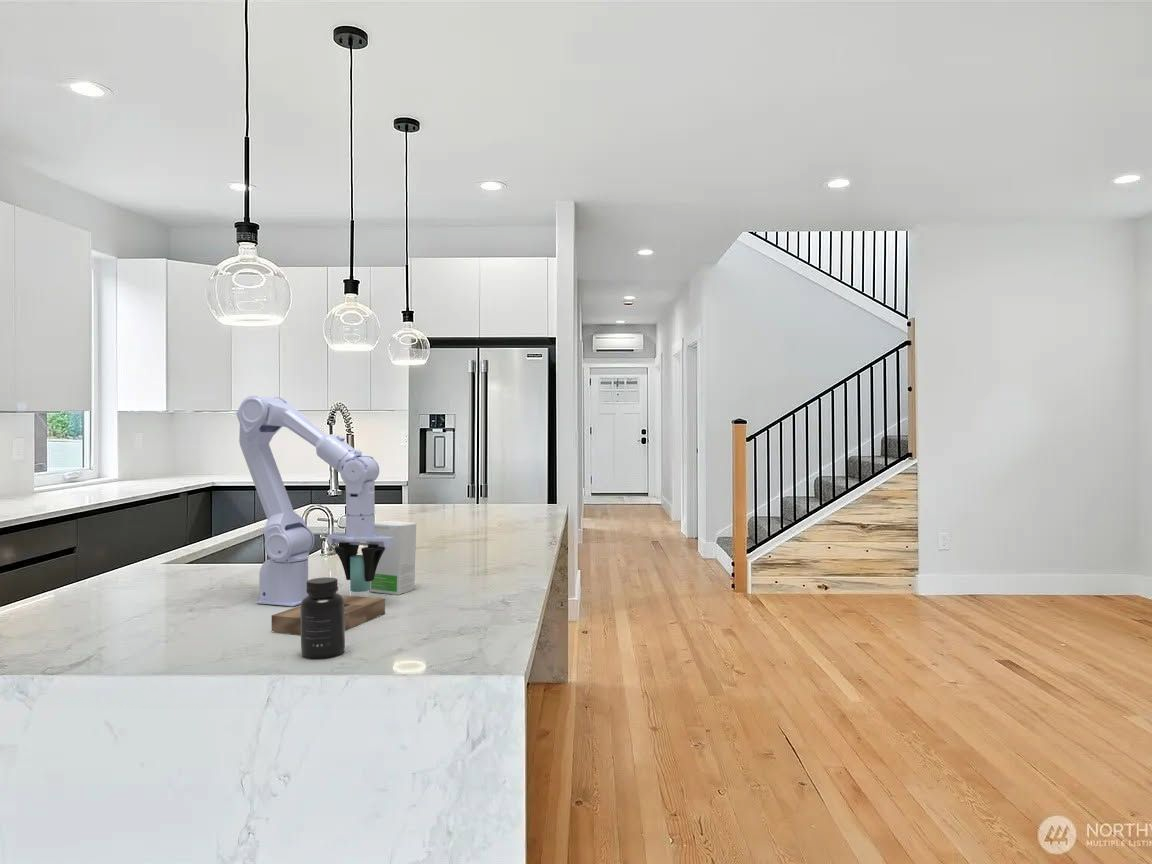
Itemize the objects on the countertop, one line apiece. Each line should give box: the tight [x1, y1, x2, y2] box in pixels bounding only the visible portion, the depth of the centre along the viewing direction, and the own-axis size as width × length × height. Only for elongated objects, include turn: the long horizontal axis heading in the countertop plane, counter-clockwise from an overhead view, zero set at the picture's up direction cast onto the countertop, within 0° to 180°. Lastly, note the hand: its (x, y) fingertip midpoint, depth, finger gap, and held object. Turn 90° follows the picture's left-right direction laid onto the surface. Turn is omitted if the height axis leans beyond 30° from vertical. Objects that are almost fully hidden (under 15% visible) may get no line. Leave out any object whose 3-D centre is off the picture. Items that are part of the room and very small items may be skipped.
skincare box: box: [369, 519, 417, 596], centre depth 171 cm, size 8×7×16 cm
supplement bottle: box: [299, 576, 346, 660], centre depth 123 cm, size 7×7×12 cm
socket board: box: [271, 594, 386, 636], centre depth 143 cm, size 12×18×3 cm, turn 162°
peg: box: [349, 554, 370, 593], centre depth 157 cm, size 4×4×7 cm
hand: (360, 580), depth 157 cm, fingers closed on peg, 4 cm apart
